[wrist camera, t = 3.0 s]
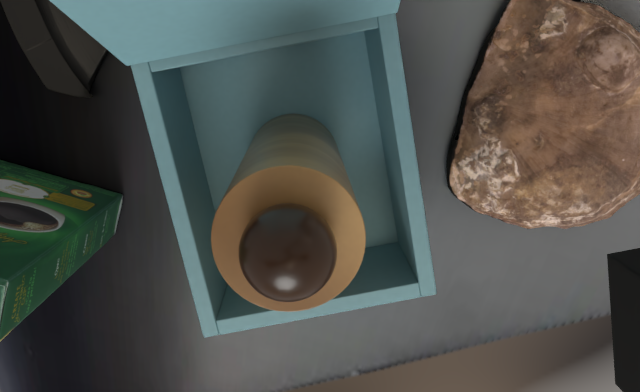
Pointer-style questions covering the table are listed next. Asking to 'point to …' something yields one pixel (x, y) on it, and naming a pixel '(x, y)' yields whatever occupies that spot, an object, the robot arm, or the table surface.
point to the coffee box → (46, 235)
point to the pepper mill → (289, 219)
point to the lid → (206, 22)
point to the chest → (275, 100)
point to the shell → (550, 117)
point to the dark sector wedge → (55, 46)
